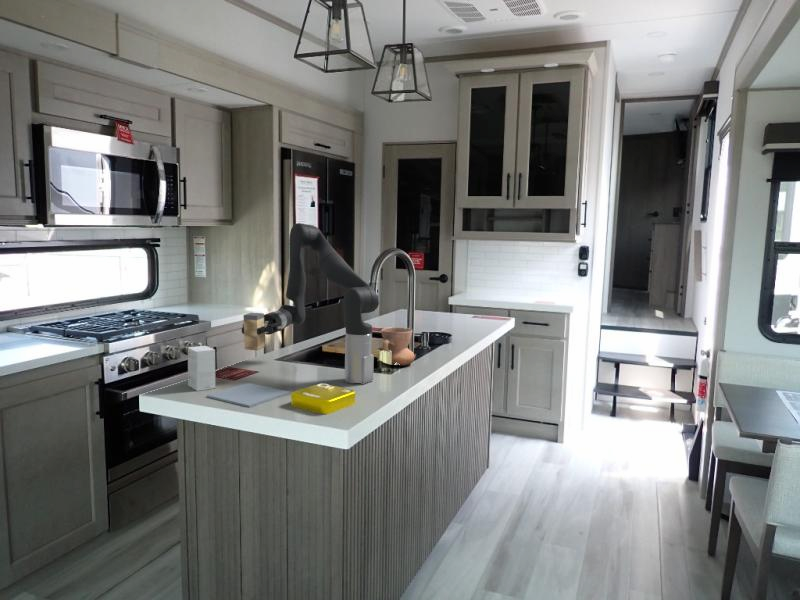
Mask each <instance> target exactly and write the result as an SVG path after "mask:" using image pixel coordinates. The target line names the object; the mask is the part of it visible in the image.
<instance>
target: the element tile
mask: <svg viewBox="0 0 800 600" xmlns="http://www.w3.org/2000/svg"><path fill="white" fill-rule="evenodd" d="M290 401H291V402H290V405H291V407H294V408H297V409H301V410H306V411H309V412H313V413H317V414H321V415H328V414H333V413H335V412H339V411H340V410H344V409H346V408H349V407H350V406H351V407H352V406H354V405H356V391H355V390H353V389H349V388H344V387H340V386H336V385H331V384H328V383H318V384H314V385H313V384H312V385H310V386H307V387H304V388H301V389H297V390H295V391H291V392H290ZM353 404H354V405H353Z"/></svg>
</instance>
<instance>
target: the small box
mask: <svg viewBox="0 0 800 600" xmlns="http://www.w3.org/2000/svg"><path fill="white" fill-rule="evenodd" d="M187 385H188V386H189V387H190V388H191V389H193V390H195V391H197V392H199V391H205V390H212V389H216V349H215V348H212V347H210V346H207V345H198V346H189V347H187Z"/></svg>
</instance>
